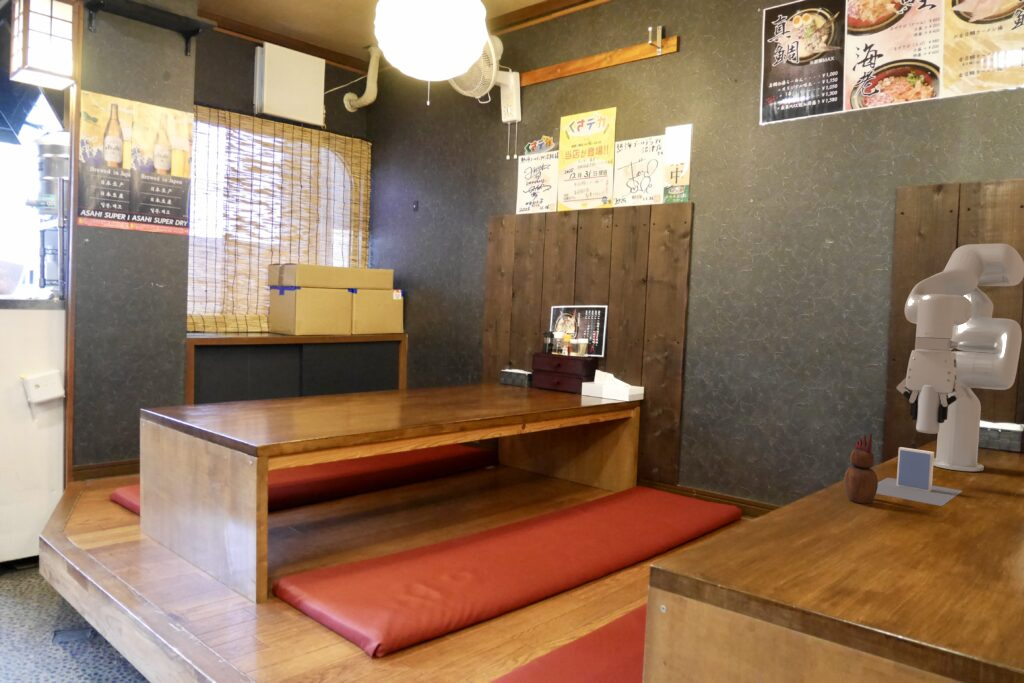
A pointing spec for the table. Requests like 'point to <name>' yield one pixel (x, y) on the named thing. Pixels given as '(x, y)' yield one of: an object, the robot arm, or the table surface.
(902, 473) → the tile
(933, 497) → the mat
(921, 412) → the beverage can
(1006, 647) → the table surface
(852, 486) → the wooden figurine
